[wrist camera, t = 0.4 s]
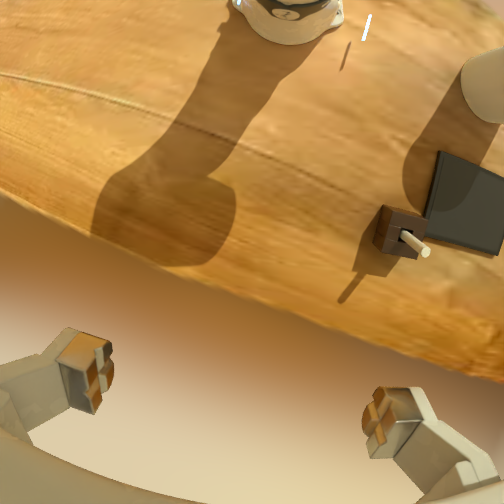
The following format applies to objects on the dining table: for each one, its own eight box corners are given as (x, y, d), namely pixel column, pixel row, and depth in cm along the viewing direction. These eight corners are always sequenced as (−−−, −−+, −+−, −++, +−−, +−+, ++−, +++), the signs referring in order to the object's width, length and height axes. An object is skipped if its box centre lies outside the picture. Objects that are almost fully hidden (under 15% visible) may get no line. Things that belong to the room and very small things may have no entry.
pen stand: (382, 204, 53) (392, 210, 48) (416, 213, 53) (428, 220, 48) (372, 242, 55) (381, 252, 50) (406, 250, 55) (416, 259, 51)
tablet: (438, 150, 49) (441, 150, 48) (515, 183, 49) (518, 184, 48) (417, 233, 54) (420, 235, 53) (495, 254, 54) (498, 256, 53)
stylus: (392, 222, 54) (423, 246, 41) (400, 224, 54) (431, 248, 41) (390, 231, 54) (419, 256, 42) (397, 233, 54) (428, 258, 42)
